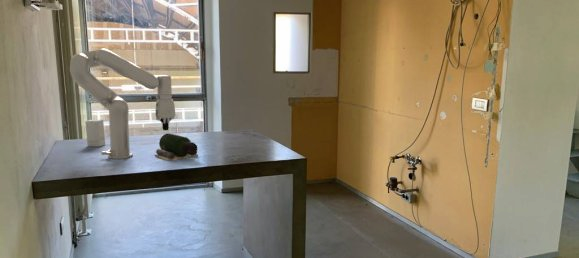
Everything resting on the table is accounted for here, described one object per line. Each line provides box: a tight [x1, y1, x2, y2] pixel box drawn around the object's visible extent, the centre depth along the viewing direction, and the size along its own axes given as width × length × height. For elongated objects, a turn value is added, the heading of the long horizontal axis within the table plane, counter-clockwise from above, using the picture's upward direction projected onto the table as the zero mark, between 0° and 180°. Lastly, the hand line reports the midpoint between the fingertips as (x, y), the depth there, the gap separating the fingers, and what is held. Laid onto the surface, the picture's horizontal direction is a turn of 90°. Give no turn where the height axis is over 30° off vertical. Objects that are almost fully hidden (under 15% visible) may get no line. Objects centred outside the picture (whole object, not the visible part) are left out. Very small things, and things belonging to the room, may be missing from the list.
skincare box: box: [84, 119, 106, 148], centre depth 261 cm, size 8×7×16 cm
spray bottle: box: [158, 133, 198, 156], centre depth 236 cm, size 10×10×25 cm
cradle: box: [154, 148, 199, 162], centre depth 238 cm, size 18×14×4 cm
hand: (165, 130), depth 244 cm, fingers closed
